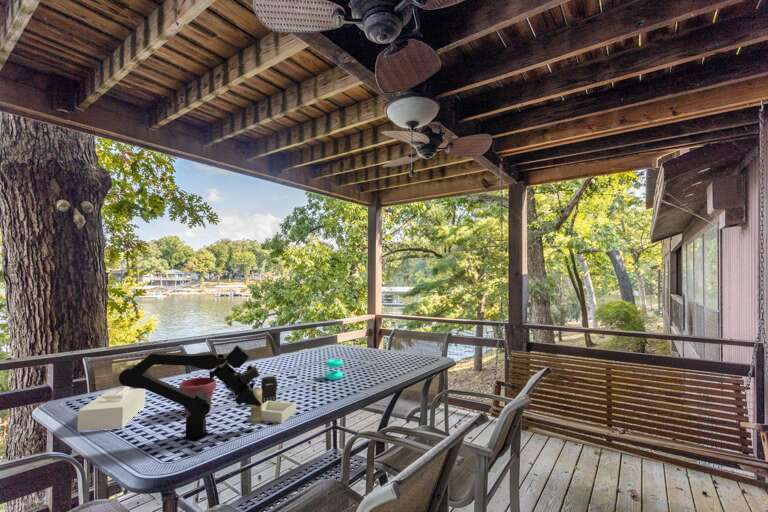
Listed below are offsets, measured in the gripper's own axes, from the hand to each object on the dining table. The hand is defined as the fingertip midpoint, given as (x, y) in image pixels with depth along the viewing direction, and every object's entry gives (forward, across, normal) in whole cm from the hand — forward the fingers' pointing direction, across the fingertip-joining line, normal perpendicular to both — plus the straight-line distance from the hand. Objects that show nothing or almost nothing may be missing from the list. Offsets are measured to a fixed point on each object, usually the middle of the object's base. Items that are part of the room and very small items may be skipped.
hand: (260, 403), depth 143 cm
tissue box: (-33, +30, +46) cm, 64 cm away
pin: (+4, 0, +6) cm, 7 cm away
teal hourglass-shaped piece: (+36, +59, -23) cm, 73 cm away
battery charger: (+10, +30, +3) cm, 32 cm away
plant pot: (-11, +27, +24) cm, 38 cm away
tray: (+11, +11, +2) cm, 15 cm away
